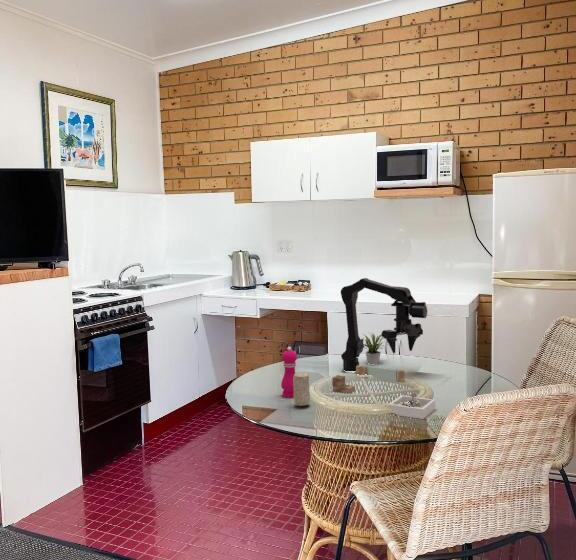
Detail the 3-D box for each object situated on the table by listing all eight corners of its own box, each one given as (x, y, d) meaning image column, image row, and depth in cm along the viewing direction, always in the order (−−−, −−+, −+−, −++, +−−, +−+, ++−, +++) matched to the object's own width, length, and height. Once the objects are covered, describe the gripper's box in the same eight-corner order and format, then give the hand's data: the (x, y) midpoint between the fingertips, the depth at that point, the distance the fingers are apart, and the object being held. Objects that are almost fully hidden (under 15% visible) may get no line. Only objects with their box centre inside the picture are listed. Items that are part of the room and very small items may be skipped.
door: (366, 378, 270) (365, 366, 269) (367, 378, 270) (366, 366, 270) (396, 382, 262) (396, 370, 262) (397, 382, 263) (397, 369, 263)
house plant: (394, 362, 300) (394, 329, 298) (386, 369, 287) (386, 334, 286) (365, 360, 306) (365, 328, 304) (357, 366, 293) (357, 333, 292)
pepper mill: (287, 399, 243) (286, 349, 241) (278, 395, 249) (276, 346, 247) (302, 396, 246) (301, 347, 244) (293, 392, 252) (292, 344, 251)
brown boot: (332, 392, 252) (332, 377, 251) (337, 389, 256) (337, 375, 255) (350, 394, 248) (349, 380, 247) (355, 391, 251) (354, 377, 251)
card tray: (388, 413, 222) (388, 404, 221) (401, 404, 233) (401, 395, 232) (423, 419, 215) (423, 409, 215) (435, 409, 226) (435, 399, 226)
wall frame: (356, 378, 272) (356, 366, 271) (358, 377, 273) (358, 365, 273) (402, 384, 260) (402, 371, 260) (404, 383, 262) (404, 370, 262)
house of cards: (436, 411, 224) (436, 391, 223) (423, 417, 218) (423, 396, 217) (416, 406, 231) (416, 386, 230) (402, 412, 225) (402, 391, 224)
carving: (308, 401, 239) (307, 371, 238) (311, 407, 231) (311, 376, 230) (292, 402, 238) (291, 372, 237) (295, 408, 230) (294, 377, 229)
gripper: (397, 321, 256) (397, 358, 258) (431, 317, 265) (431, 352, 267) (380, 317, 266) (380, 353, 268) (414, 313, 275) (414, 348, 276)
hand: (402, 351), depth 269 cm, fingers open, 9 cm apart
